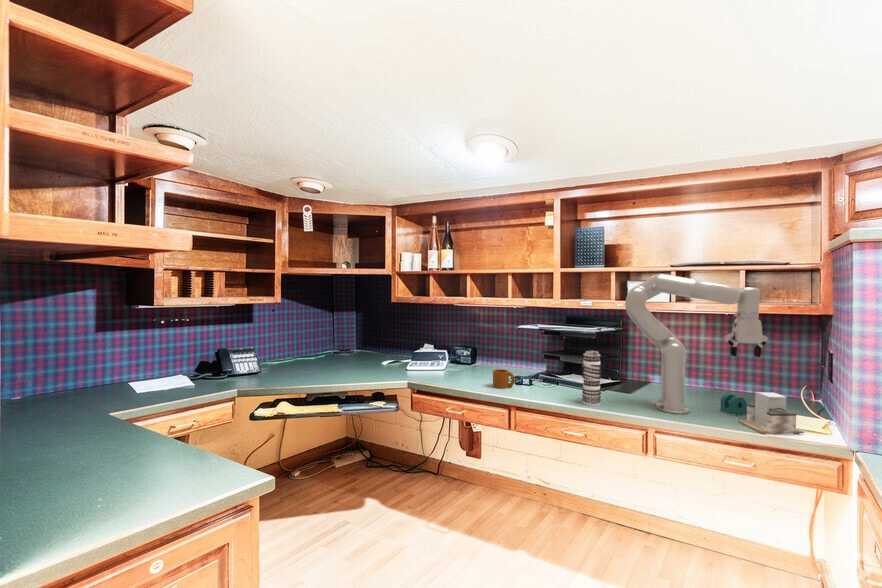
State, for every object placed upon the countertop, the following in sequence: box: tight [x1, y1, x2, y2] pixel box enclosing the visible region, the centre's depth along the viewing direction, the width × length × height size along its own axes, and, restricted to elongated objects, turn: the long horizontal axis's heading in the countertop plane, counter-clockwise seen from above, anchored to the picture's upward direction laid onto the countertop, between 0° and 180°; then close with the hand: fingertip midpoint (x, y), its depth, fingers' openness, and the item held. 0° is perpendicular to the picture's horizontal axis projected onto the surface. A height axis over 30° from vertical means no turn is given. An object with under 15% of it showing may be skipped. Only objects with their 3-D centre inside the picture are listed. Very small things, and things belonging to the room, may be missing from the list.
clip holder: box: [738, 403, 805, 435], centre depth 171 cm, size 16×13×8 cm
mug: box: [492, 369, 516, 390], centre depth 237 cm, size 9×12×9 cm
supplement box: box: [754, 391, 788, 428], centre depth 171 cm, size 7×7×13 cm
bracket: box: [720, 393, 748, 415], centre depth 192 cm, size 18×7×8 cm, turn 99°
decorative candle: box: [581, 350, 603, 406], centre depth 206 cm, size 9×9×25 cm
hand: (745, 356), depth 183 cm, fingers open, 9 cm apart
